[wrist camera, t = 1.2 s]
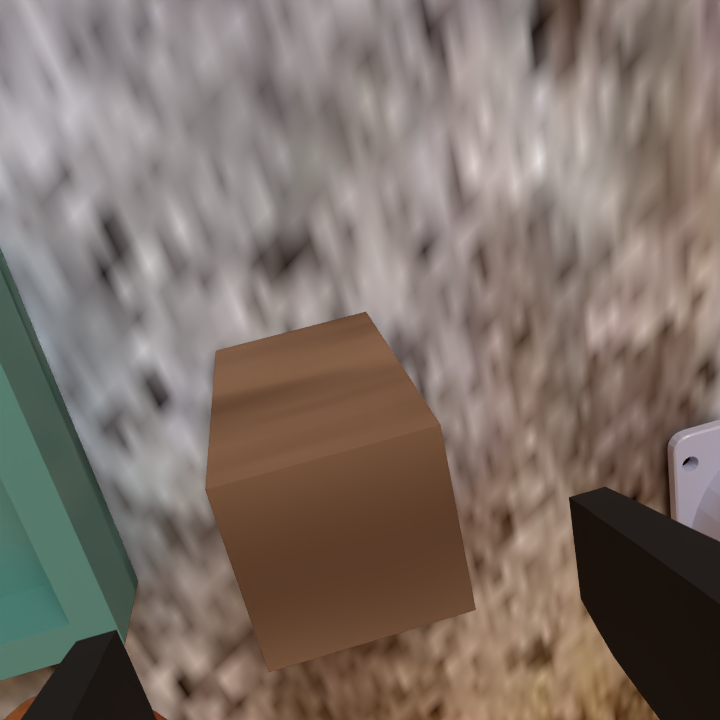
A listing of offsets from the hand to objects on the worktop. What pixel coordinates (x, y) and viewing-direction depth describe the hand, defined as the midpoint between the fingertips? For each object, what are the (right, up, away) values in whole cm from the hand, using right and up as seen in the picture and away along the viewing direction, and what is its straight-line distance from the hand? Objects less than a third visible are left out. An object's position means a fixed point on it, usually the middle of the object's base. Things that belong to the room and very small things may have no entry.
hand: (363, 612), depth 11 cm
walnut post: (-1, +3, +8) cm, 9 cm away
